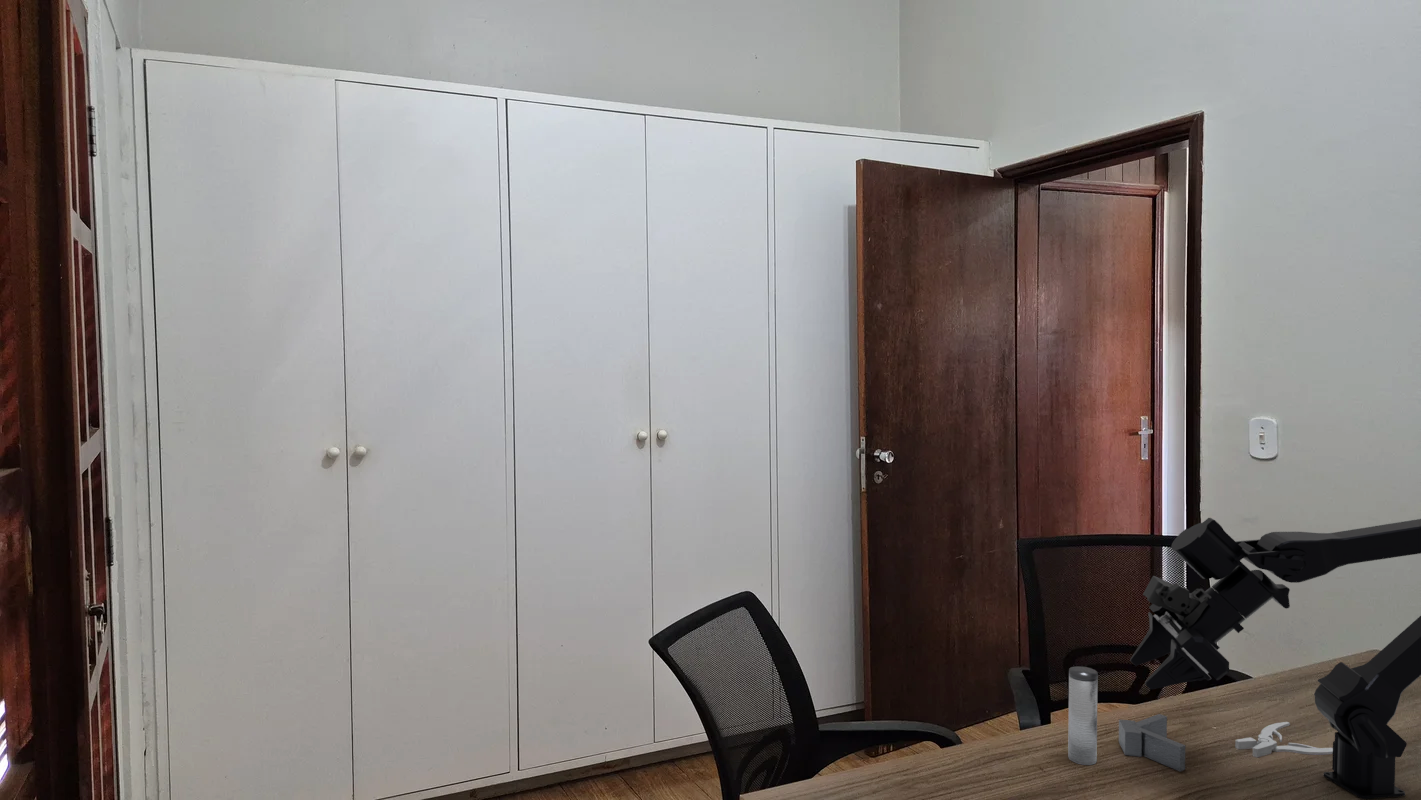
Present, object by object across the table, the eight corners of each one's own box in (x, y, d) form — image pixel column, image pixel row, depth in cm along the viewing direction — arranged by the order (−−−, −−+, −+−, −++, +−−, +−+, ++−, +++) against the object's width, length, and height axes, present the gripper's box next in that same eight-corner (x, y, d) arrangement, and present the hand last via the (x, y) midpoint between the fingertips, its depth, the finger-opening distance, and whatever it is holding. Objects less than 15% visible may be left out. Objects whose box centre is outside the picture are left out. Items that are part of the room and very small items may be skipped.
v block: (1165, 736, 131) (1165, 714, 131) (1186, 772, 120) (1187, 747, 119) (1113, 731, 133) (1114, 709, 133) (1130, 766, 121) (1130, 742, 121)
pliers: (1350, 741, 126) (1277, 759, 121) (1350, 752, 126) (1277, 770, 121) (1285, 715, 135) (1215, 730, 130) (1285, 725, 135) (1215, 740, 130)
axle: (1102, 764, 122) (1103, 675, 122) (1077, 765, 122) (1077, 676, 121) (1087, 752, 126) (1088, 665, 125) (1063, 753, 126) (1063, 667, 125)
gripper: (1165, 545, 128) (1085, 613, 132) (1203, 577, 110) (1109, 654, 114) (1223, 600, 127) (1140, 667, 130) (1271, 641, 109) (1174, 717, 112)
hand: (1139, 674), depth 121 cm, fingers open, 9 cm apart
